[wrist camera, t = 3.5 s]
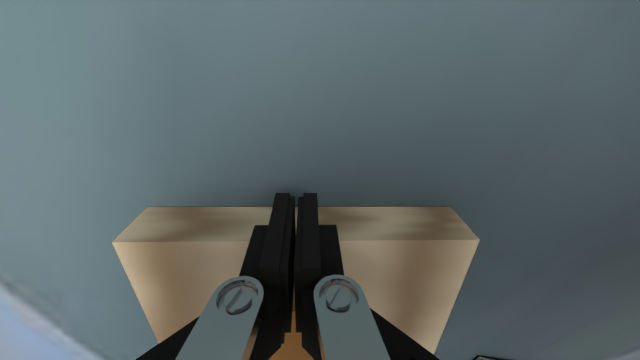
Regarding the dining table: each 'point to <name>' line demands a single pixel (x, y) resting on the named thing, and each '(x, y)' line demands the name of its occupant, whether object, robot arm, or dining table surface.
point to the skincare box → (482, 359)
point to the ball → (292, 346)
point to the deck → (358, 263)
